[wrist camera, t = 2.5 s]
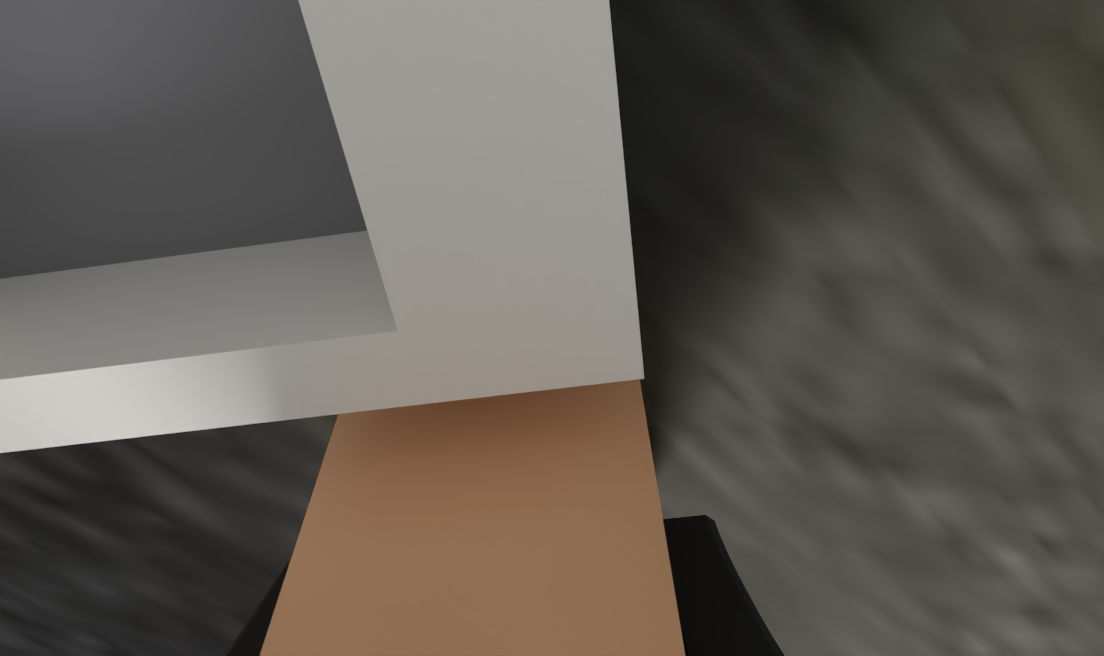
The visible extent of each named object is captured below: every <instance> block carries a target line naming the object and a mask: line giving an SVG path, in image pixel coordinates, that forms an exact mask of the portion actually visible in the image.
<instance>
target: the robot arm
mask: <svg viewBox="0 0 1104 656" xmlns="http://www.w3.org/2000/svg"><path fill="white" fill-rule="evenodd" d="M663 523H664V529H665V535H666V541H667V548H668V554H669V560H670V566H671V572H672V578H673V584H674V590H675V596H676V602H677V608H678V614H679V620H680V626H681V632H682V638H683V644H684V650H685V656H784V654H783V653H782V651H781V649H780V648H779V646H778V645H777V643H776V641H775V640H774V638H773V637H772V635H771V633H770V632H769V630H768V628H767V626H766V625H765V623H764V621H763V620H762V618H761V616H760V614H759V613H758V611H757V609H756V607H755V605H754V603H753V602H752V600H751V598H750V596H749V594H748V592H747V591H746V589H745V587H744V585H743V583H742V581H741V579H740V577H739V575H738V573H737V571H736V569H735V567H734V565H733V563H732V561H731V559H730V557H729V555H728V553H727V550H726V548H725V546H724V544H723V541H722V539H721V537H720V534H719V532H718V529H717V526H716V524H715V521H714V520H712V519H711V518H709V517H708V516H706V515H701V516H691V517H681V518H672V519H663ZM290 561H291V560H290ZM290 561H289V562H288V563H287V565H286V566H285V568H284V569H283V571H282V572H281V573H280V575H279V576H278V578H277V579H276V581H275V582H274V584H273V585H272V587H271V588H270V590H269V591H268V593H267V594H266V596H265V597H264V599H263V600H262V602H261V603H260V605H259V606H258V608H257V609H256V611H255V612H254V614H253V615H252V617H251V618H250V619H249V621H248V622H247V624H246V625H245V627H244V628H243V630H242V631H241V633H240V634H239V636H238V637H237V639H236V640H235V642H234V643H233V644H232V646H231V647H230V649H229V650H228V652H227V653H226V655H225V656H260V653H261V650H262V647H263V644H264V641H265V638H266V634H267V631H268V628H269V625H270V622H271V619H272V616H273V613H274V610H275V607H276V604H277V601H278V598H279V594H280V591H281V588H282V585H283V582H284V579H285V576H286V573H287V570H288V567H289V564H290Z"/></svg>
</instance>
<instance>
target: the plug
mask: <svg viewBox="0 0 1104 656" xmlns="http://www.w3.org/2000/svg"><path fill="white" fill-rule="evenodd" d="M260 656H685V650H684V644H683V638H682V632H681V626H680V620H679V614H678V608H677V602H676V596H675V590H674V584H673V578H672V572H671V566H670V560H669V554H668V548H667V541H666V535H665V529H664V523H663V517H662V511H661V505H660V499H659V493H658V487H657V481H656V475H655V469H654V463H653V457H652V451H651V445H650V439H649V433H648V427H647V420H646V414H645V408H644V402H643V396H642V390H641V384H640V379H637V380H628V381H620V382H611V383H602V384H594V385H585V386H576V387H568V388H559V389H550V390H542V391H533V392H524V393H516V394H507V395H498V396H490V397H481V398H472V399H464V400H455V401H447V402H438V403H429V404H421V405H412V406H403V407H395V408H386V409H377V410H369V411H360V412H351V413H343V414H338V416H337V419H336V422H335V425H334V429H333V432H332V435H331V438H330V441H329V444H328V447H327V450H326V453H325V456H324V459H323V462H322V465H321V468H320V472H319V475H318V478H317V481H316V484H315V487H314V490H313V493H312V496H311V499H310V502H309V505H308V508H307V512H306V515H305V518H304V521H303V524H302V527H301V530H300V533H299V536H298V539H297V542H296V545H295V548H294V551H293V555H292V558H291V561H290V564H289V567H288V570H287V573H286V576H285V579H284V582H283V585H282V588H281V591H280V594H279V598H278V601H277V604H276V607H275V610H274V613H273V616H272V619H271V622H270V625H269V628H268V631H267V634H266V638H265V641H264V644H263V647H262V650H261V653H260Z"/></svg>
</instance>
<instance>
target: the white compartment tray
mask: <svg viewBox="0 0 1104 656" xmlns="http://www.w3.org/2000/svg"><path fill="white" fill-rule="evenodd" d="M637 379H644V369H643V359H642V348H641V337H640V327H639V316H638V305H637V294H636V284H635V273H634V262H633V251H632V241H631V230H630V219H629V208H628V198H627V187H626V176H625V166H624V155H623V144H622V133H621V123H620V112H619V101H618V90H617V80H616V69H615V58H614V47H613V37H612V26H611V15H610V5H609V0H0V453H5V452H14V451H23V450H31V449H40V448H48V447H57V446H66V445H74V444H83V443H92V442H100V441H109V440H118V439H126V438H135V437H144V436H152V435H161V434H170V433H178V432H187V431H196V430H204V429H213V428H222V427H230V426H239V425H248V424H256V423H265V422H273V421H282V420H291V419H299V418H308V417H317V416H325V415H334V414H343V413H351V412H360V411H369V410H377V409H386V408H395V407H403V406H412V405H421V404H429V403H438V402H447V401H455V400H464V399H472V398H481V397H490V396H498V395H507V394H516V393H524V392H533V391H542V390H550V389H559V388H568V387H576V386H585V385H594V384H602V383H611V382H620V381H628V380H637Z"/></svg>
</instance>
